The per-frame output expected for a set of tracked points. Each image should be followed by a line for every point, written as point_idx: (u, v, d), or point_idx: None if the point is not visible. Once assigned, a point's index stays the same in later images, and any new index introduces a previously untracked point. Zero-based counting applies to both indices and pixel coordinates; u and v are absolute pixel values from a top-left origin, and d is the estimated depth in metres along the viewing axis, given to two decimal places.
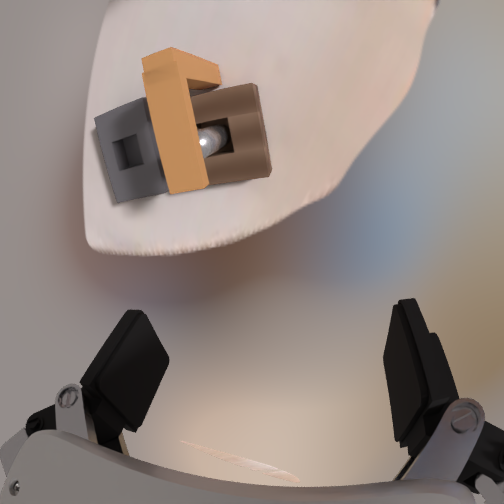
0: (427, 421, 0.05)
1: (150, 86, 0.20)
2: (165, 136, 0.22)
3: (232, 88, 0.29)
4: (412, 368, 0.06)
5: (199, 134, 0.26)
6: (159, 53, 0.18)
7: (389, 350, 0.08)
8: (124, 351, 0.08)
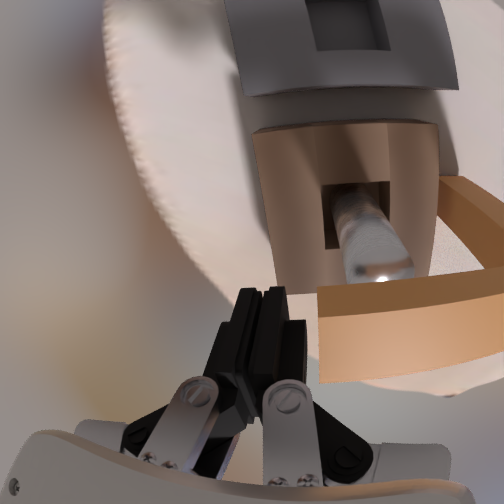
0: (261, 395, 0.07)
1: None
2: (469, 321, 0.07)
3: (429, 256, 0.18)
4: (255, 345, 0.08)
5: None
6: None
7: None
8: (253, 331, 0.09)
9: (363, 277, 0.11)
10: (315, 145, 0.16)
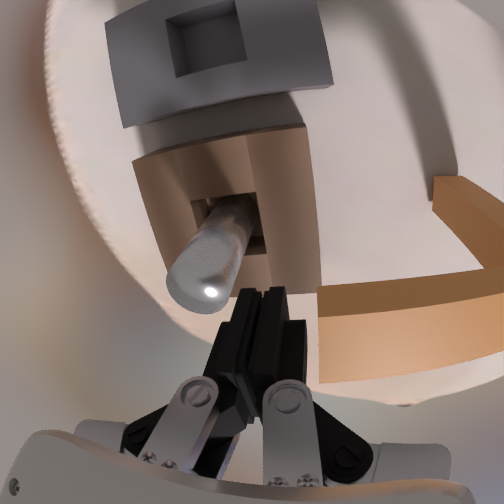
0: (261, 395, 0.07)
1: None
2: (469, 320, 0.07)
3: (317, 265, 0.20)
4: (254, 345, 0.08)
5: (224, 303, 0.13)
6: None
7: None
8: (253, 331, 0.09)
9: (179, 287, 0.13)
10: (180, 165, 0.17)
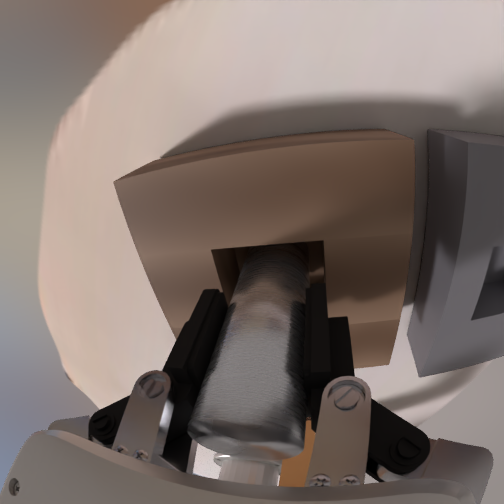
0: (315, 394, 0.07)
1: None
2: None
3: None
4: (304, 343, 0.08)
5: (222, 452, 0.07)
6: None
7: None
8: (210, 330, 0.09)
9: (243, 432, 0.06)
10: (386, 235, 0.10)
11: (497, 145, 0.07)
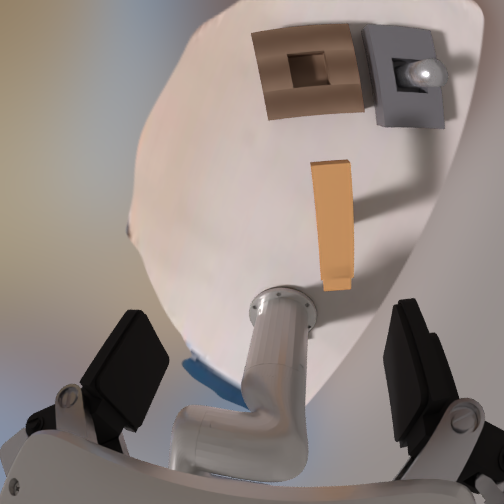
0: (427, 421, 0.05)
1: (348, 265, 0.27)
2: (343, 220, 0.25)
3: (287, 116, 0.31)
4: (412, 368, 0.06)
5: (430, 82, 0.20)
6: (334, 289, 0.29)
7: (389, 350, 0.08)
8: (124, 351, 0.08)
9: (435, 64, 0.18)
10: (345, 49, 0.25)
11: (380, 25, 0.22)
